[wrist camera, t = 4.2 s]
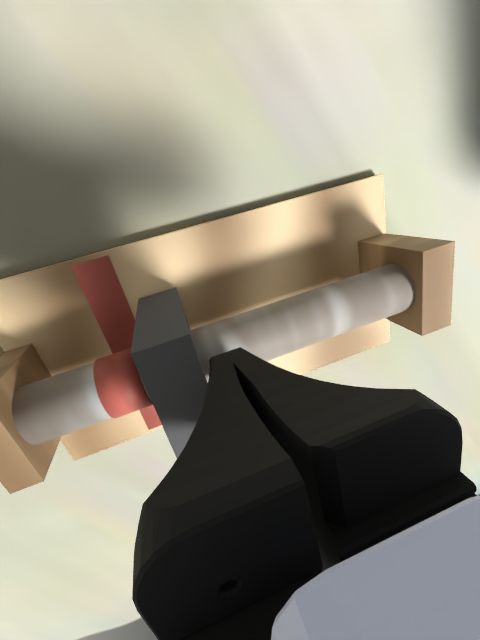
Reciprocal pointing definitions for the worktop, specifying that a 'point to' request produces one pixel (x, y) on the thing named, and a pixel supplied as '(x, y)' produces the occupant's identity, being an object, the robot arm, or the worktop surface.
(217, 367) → the robot arm
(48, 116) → the worktop surface
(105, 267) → the pipe rig
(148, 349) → the collar
